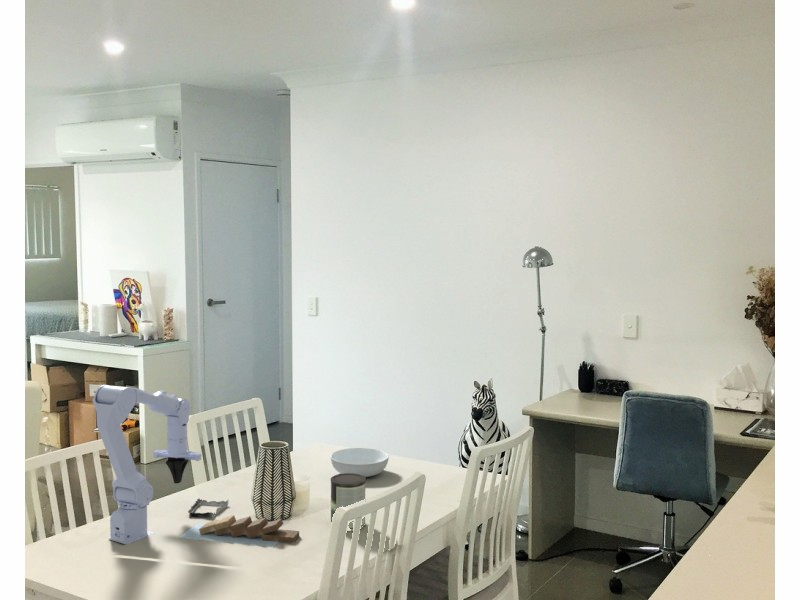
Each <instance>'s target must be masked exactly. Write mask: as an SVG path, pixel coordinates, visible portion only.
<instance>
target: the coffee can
mask: <svg viewBox="0 0 800 600" xmlns="http://www.w3.org/2000/svg"><path fill="white" fill-rule="evenodd" d="M366 481H367V477H364V476H362V475H360V474H353V473H344V474H341V473H339V474H335V475H333V476H331V477H330V523H331V522H332V517H333V514H334V513H335V511H336V509H337V508H339V507H342V506H343V507H346V506H348V505H351V504H354V503H356V502H359V501H361V500H364V499H365V500H366ZM352 522H354V521H352ZM352 522H350V523H349V525H348V526H349V528H350V529H351V531H350V532H353V531H352V530H353V523H352ZM364 524H365V525H366V516H365V517H364V518H363V519H362V525H361V529H362V530H363V528H362V526H364ZM361 529H360V530H361Z"/></svg>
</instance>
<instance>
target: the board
mask: <svg viewBox="0 0 800 600" xmlns="http://www.w3.org/2000/svg"><path fill="white" fill-rule="evenodd" d="M206 523H207V522H206ZM206 523H205V522H204V523H203V522H197V523H196V524H194V525H193V526H192V527H190V528H189V529H188V530H187V531H185V532H184V533H183V534H181V535H179V537H178V539H186V540H187V539H188V540H196V541H207V542H216V543H217V542H218V543H227V544H239V545H249V546H250V545H251V546H259V547H261V546H262V547H270V548H275V547H276V546H277V545H278V543H279V542H274V541H263V540H262V535H260V536H256V537H253V538H250V539H248V537H247V534H243V535H240V536H237V537H232V535H231V532H229V533H226V534H223V535H219V536H216V533H215V531H212V532H208V533H205V534H201V535H200V532H199V529H200V528H201V527H202V526H203V525H205V524H206Z"/></svg>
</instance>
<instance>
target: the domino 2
mask: <svg viewBox="0 0 800 600" xmlns="http://www.w3.org/2000/svg"><path fill="white" fill-rule="evenodd" d="M268 522H269V521H268V520H267V517H263V518H259V519H256V520H253V521H252V522H251V523H250V524H249V525H248V526H247V527H246V528H243V529H240V530H236V531H233V532H231V535H232V537H237V536H240V535H243V534H246V533H250V532H253V531H256V530H260V529H262V528H263V527H264V526H265V525H266V524H267V523H268Z"/></svg>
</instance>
